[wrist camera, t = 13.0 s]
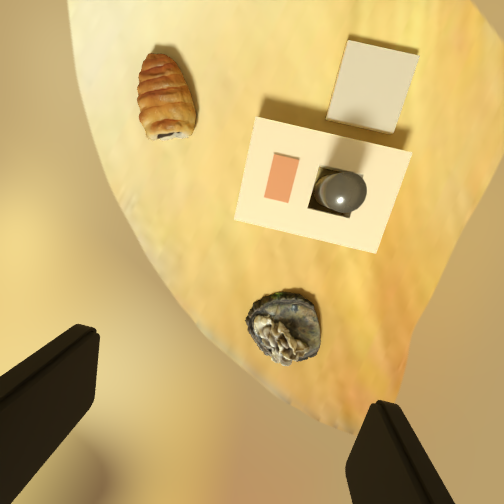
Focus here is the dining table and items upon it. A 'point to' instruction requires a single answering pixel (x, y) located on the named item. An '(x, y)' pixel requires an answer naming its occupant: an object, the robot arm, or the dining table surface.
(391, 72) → the pad
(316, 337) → the grey rounded lumpy piece
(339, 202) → the peg
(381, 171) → the board
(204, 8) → the dining table surface
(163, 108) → the pastry
